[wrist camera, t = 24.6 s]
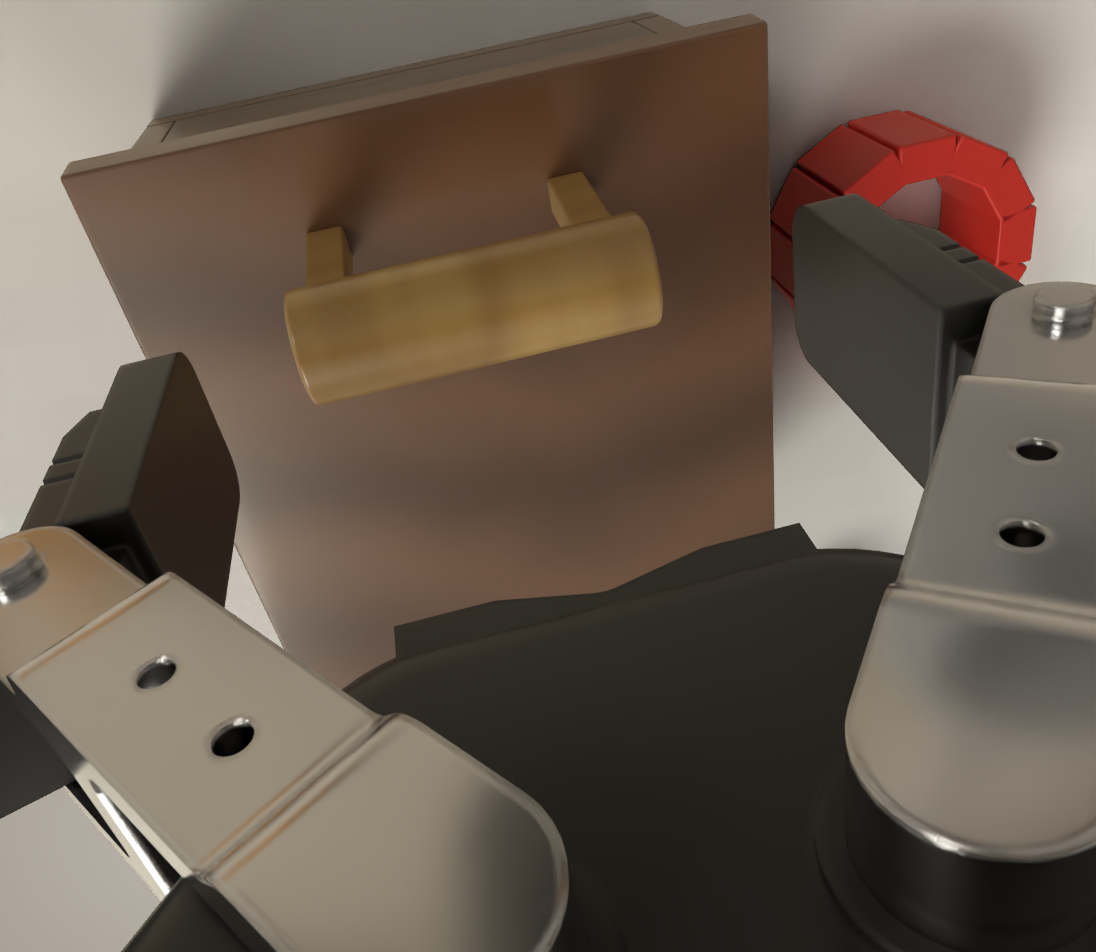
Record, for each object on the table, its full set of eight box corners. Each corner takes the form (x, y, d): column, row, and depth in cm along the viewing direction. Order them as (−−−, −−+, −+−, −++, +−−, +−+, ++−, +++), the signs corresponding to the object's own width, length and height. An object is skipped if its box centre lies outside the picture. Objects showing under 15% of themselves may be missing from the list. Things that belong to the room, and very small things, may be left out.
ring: (762, 138, 26) (807, 168, 24) (981, 90, 26) (1048, 113, 24) (771, 345, 29) (812, 390, 27) (965, 300, 30) (1022, 339, 27)
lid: (67, 161, 17) (-15, 298, 13) (751, 11, 18) (892, 93, 13) (335, 735, 27) (339, 920, 22) (766, 624, 28) (849, 783, 23)
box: (150, 120, 23) (101, 186, 18) (652, 11, 24) (731, 47, 19) (335, 604, 32) (335, 735, 27) (702, 512, 32) (765, 624, 28)
